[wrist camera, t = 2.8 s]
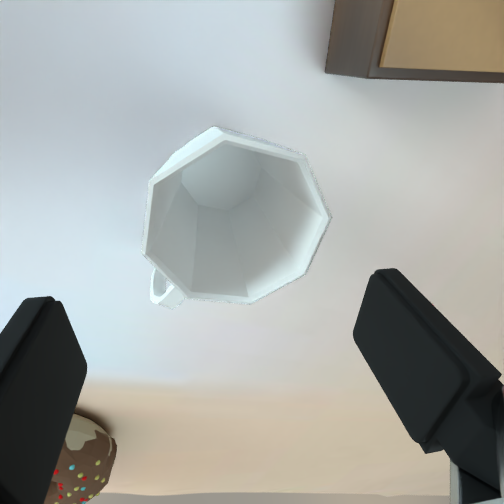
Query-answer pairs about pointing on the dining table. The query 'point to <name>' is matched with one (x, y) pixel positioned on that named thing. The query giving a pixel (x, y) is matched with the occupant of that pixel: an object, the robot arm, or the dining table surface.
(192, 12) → the dining table surface
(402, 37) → the block
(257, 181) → the cup
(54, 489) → the donut
